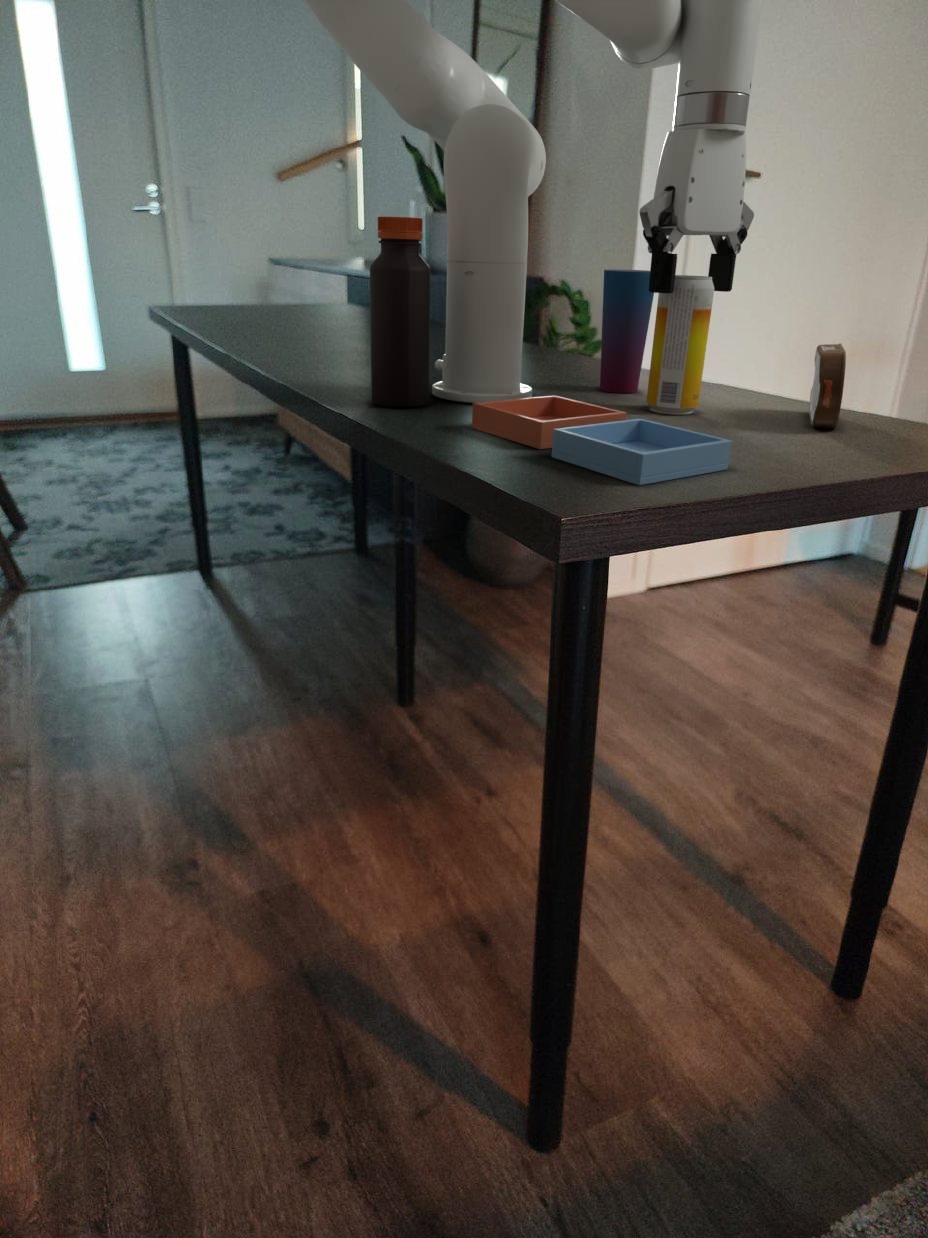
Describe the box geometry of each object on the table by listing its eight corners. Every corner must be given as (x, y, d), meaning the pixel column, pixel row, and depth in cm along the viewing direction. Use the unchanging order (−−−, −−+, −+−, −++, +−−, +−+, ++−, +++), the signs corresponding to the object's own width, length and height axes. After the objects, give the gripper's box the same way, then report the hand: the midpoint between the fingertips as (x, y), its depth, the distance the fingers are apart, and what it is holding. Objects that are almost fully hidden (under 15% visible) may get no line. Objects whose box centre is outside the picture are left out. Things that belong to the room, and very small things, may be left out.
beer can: (697, 408, 104) (716, 276, 98) (696, 417, 99) (715, 278, 93) (647, 404, 106) (662, 274, 100) (643, 412, 100) (659, 275, 94)
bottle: (373, 397, 104) (370, 216, 96) (428, 399, 104) (431, 218, 96) (369, 408, 98) (366, 215, 90) (429, 409, 98) (431, 217, 90)
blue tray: (551, 457, 79) (553, 428, 77) (637, 444, 85) (640, 418, 83) (639, 485, 70) (643, 454, 69) (727, 469, 76) (732, 440, 75)
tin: (837, 435, 92) (854, 354, 88) (806, 432, 93) (821, 351, 89) (830, 412, 105) (844, 340, 101) (803, 409, 106) (816, 338, 102)
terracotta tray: (471, 427, 89) (472, 402, 88) (552, 418, 95) (554, 395, 94) (539, 449, 81) (541, 422, 80) (624, 438, 87) (627, 412, 86)
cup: (641, 387, 118) (654, 270, 112) (646, 395, 112) (660, 272, 106) (592, 384, 119) (602, 268, 113) (594, 392, 112) (605, 270, 106)
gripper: (734, 128, 97) (714, 288, 104) (625, 114, 88) (611, 291, 95) (791, 121, 92) (766, 291, 98) (681, 106, 82) (662, 295, 89)
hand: (690, 291), depth 97 cm, fingers open, 9 cm apart
